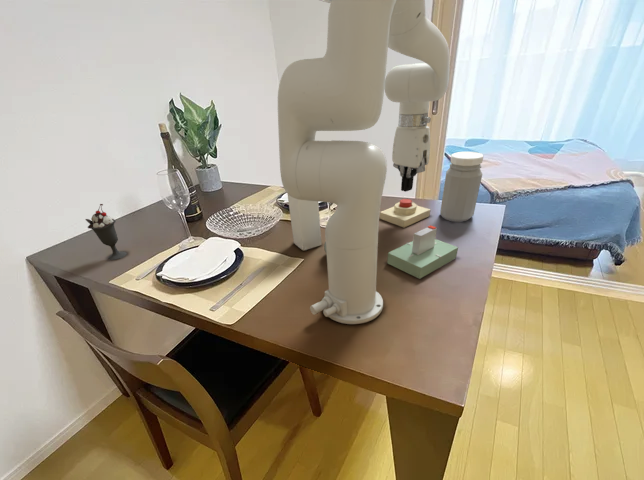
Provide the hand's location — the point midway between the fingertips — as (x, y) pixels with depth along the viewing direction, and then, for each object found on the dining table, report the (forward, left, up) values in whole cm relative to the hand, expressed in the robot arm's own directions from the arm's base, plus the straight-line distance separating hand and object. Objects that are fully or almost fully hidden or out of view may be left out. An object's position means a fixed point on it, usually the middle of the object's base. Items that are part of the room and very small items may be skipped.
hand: (406, 190), depth 99 cm
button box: (0, 0, -9) cm, 9 cm away
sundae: (-77, +41, -9) cm, 87 cm away
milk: (-33, +7, -9) cm, 34 cm away
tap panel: (-18, -21, -9) cm, 29 cm away
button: (0, 0, -5) cm, 5 cm away
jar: (+11, -11, -9) cm, 18 cm away
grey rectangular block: (-18, -21, -6) cm, 28 cm away
